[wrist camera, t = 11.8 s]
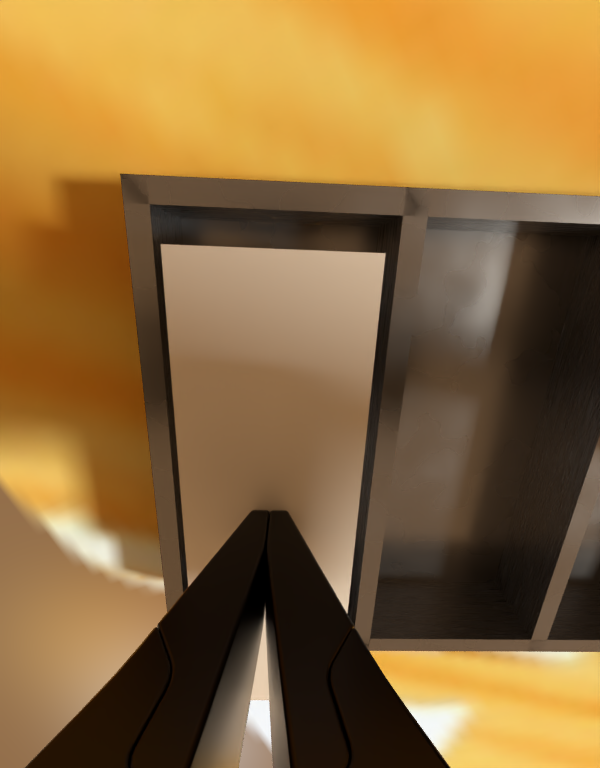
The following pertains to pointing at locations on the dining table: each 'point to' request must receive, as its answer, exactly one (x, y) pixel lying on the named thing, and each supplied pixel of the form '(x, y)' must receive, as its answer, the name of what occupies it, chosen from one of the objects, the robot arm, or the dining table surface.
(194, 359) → the blanking panel
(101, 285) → the dining table surface
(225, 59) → the dining table surface
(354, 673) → the robot arm
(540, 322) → the divided tray
